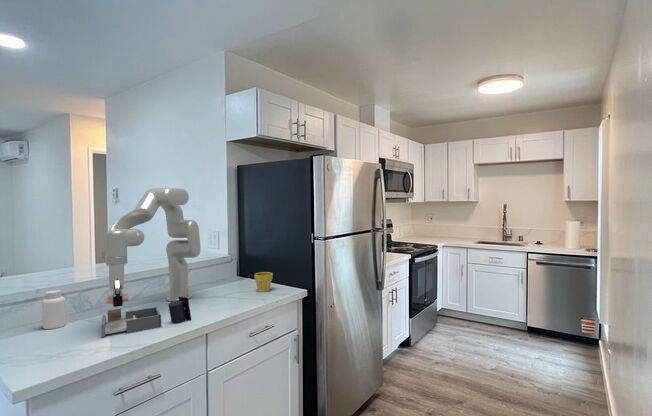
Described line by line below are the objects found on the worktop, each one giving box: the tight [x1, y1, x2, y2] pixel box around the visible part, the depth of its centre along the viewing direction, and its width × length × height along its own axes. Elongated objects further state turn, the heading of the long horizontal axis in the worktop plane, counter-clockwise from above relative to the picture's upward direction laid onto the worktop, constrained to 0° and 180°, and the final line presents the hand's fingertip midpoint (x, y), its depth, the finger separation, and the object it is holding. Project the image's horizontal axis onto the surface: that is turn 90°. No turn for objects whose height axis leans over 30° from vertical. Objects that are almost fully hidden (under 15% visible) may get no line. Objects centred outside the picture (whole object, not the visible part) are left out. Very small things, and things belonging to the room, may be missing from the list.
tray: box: [101, 314, 137, 338], centre depth 145 cm, size 13×14×5 cm
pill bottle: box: [41, 289, 67, 330], centre depth 151 cm, size 8×8×15 cm
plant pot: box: [254, 271, 274, 293], centre depth 204 cm, size 10×10×10 cm
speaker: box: [168, 297, 192, 324], centre depth 153 cm, size 8×6×10 cm
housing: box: [125, 306, 162, 334], centre depth 149 cm, size 12×15×5 cm
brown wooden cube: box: [107, 308, 122, 322], centre depth 155 cm, size 5×5×5 cm
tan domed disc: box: [106, 293, 129, 305], centre depth 145 cm, size 8×8×2 cm
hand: (117, 303), depth 145 cm, fingers closed on tan domed disc, 7 cm apart
